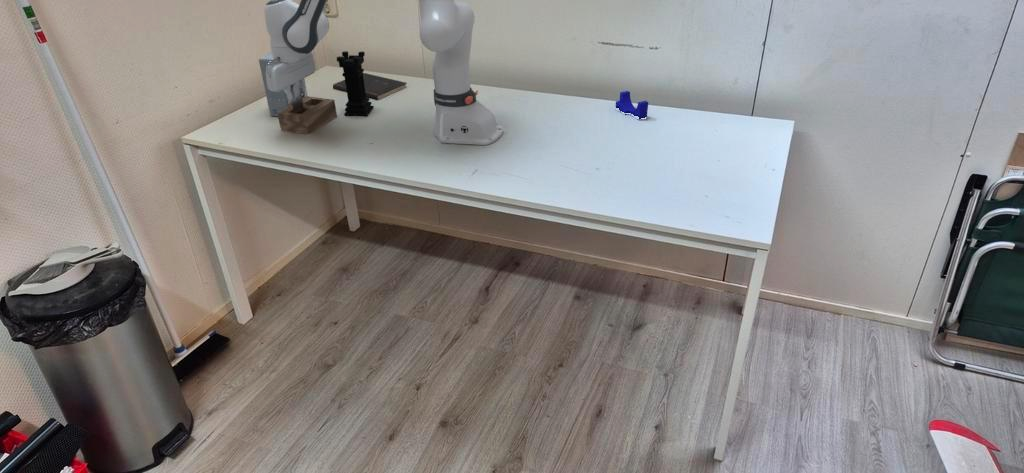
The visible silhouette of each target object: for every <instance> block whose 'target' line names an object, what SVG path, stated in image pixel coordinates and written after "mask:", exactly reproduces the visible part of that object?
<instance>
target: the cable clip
mask: <svg viewBox="0 0 1024 473" xmlns="http://www.w3.org/2000/svg"><path fill="white" fill-rule="evenodd" d="M615 107H616V108H619V110H620V111H622V112H624V113H631V114H633V115H634V116H638V117H639V119H641V118H645V117H647V118H648V108H649V101H647V100H643V101H639V102H637V106H636V107H635V106H634V105H633V103H632V100H631V92H630V90H625V91H620V92H619V100H617V101H615Z"/></svg>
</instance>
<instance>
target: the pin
mask: <svg viewBox="0 0 1024 473" xmlns="http://www.w3.org/2000/svg"><path fill="white" fill-rule="evenodd" d="M290 87H291V89H290V91H291V92H292V93H294V96H295V97H294V98H293V99H291V104H292V109H293V110H301V109H303V108H304V105H303V100H302V95H301V90H300V85H299V81H297V82H296V83H295V84H293V85H291V86H290Z"/></svg>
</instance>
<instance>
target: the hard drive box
mask: <svg viewBox="0 0 1024 473" xmlns="http://www.w3.org/2000/svg"><path fill="white" fill-rule="evenodd" d="M271 60H273V55H272V50H271V51H270V52H268V53H267V54H265V55H263V56H261V57H260V58H258V63H259V67H260V73H261V78H262V81H263V87H264V92H265V97H266V101H267V106H268V110H269V115H270V116H271V117H278V114H277V113H278V112H280V111H282V110H283V109H285V108H287V107H289V106H290V105H292V104H291V99H288V98H287V94H286V93H285V92H284V91H283V90H281V91H279V92H274V91H270V90H269V89H268V86H267V80H266V66H267V64H268V62H269V61H271ZM305 79H306V78H304V80H305ZM303 89H304V93H302V94H301V95H302V99H303V98H305V97H306V96H308V91H307V85H306V80H305V82H304V87H303Z"/></svg>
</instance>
